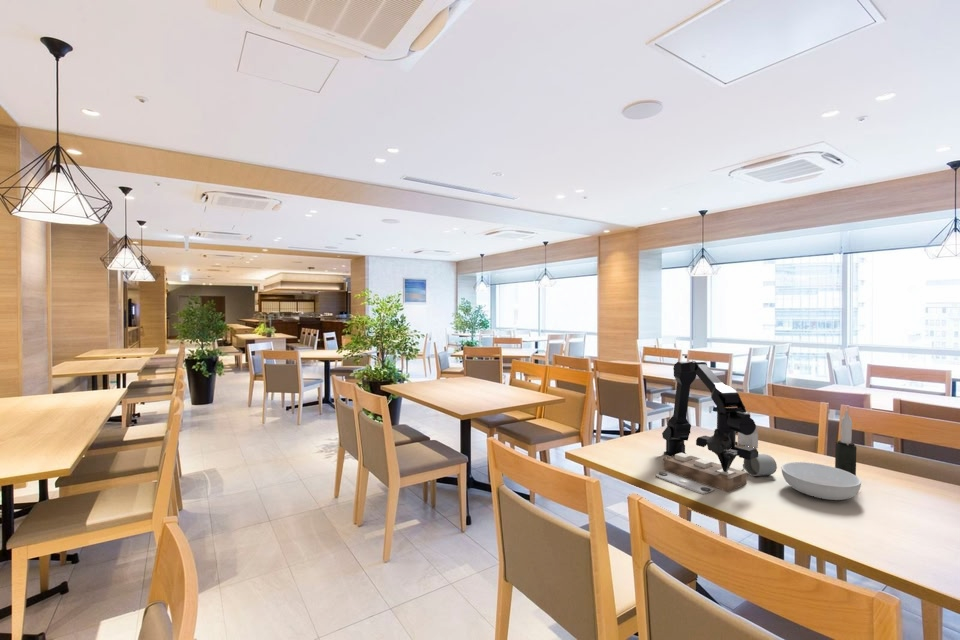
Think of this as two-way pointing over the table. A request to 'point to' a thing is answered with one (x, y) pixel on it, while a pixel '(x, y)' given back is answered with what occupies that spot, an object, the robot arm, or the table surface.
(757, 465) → the ceramic mug
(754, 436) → the grey angular block
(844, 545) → the table surface
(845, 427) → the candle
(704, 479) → the button board
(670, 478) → the pattern card
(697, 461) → the middle button
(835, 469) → the serving bowl
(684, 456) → the button
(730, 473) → the button
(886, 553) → the table surface
